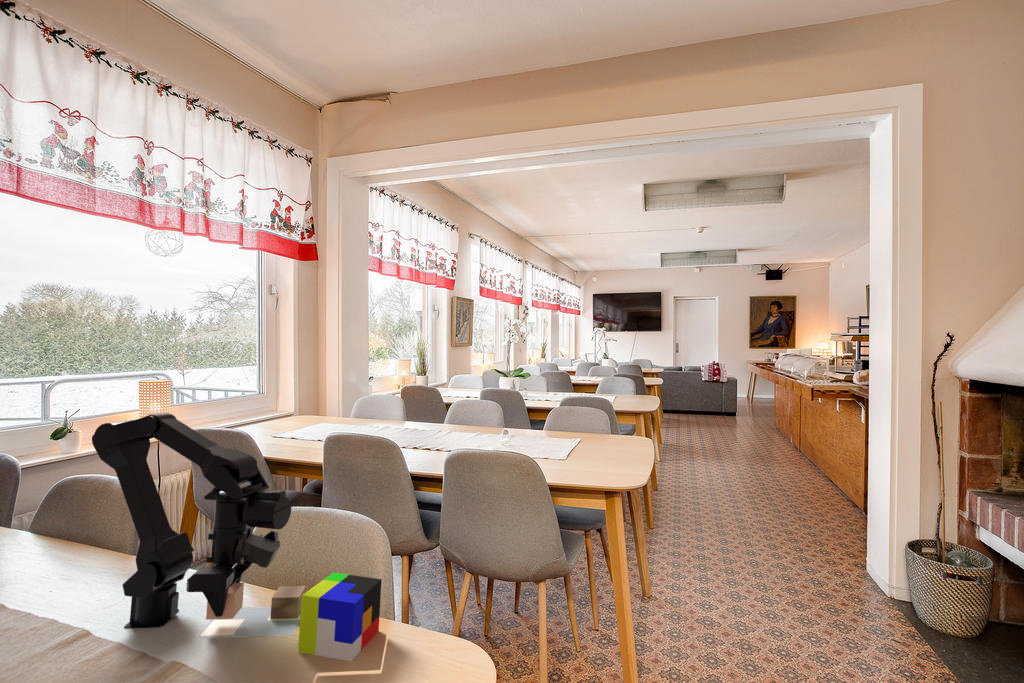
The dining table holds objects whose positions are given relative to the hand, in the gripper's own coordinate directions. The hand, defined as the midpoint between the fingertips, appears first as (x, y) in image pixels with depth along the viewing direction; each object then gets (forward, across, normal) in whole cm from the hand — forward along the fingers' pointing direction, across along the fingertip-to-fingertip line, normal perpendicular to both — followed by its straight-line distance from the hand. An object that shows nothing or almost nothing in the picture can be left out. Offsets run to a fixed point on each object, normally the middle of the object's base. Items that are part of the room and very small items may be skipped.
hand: (224, 609), depth 92 cm
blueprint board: (+4, +2, -5) cm, 6 cm away
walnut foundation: (+3, +5, -10) cm, 12 cm away
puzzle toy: (+4, -6, -22) cm, 23 cm away
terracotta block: (+1, 0, 0) cm, 1 cm away
